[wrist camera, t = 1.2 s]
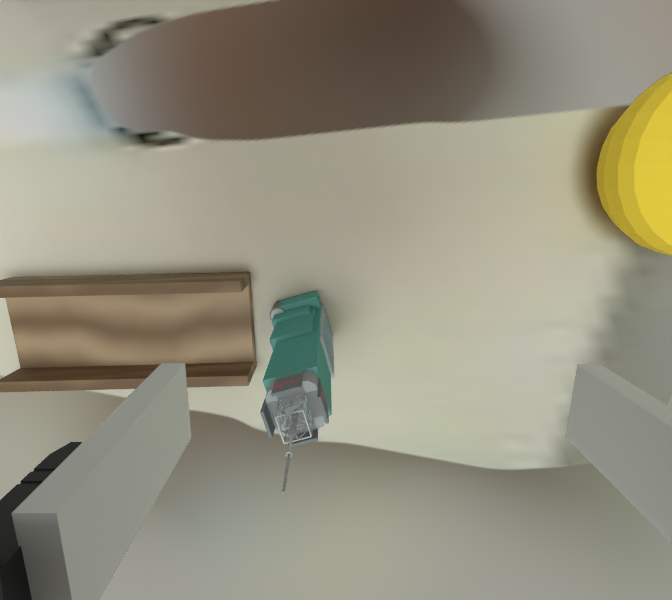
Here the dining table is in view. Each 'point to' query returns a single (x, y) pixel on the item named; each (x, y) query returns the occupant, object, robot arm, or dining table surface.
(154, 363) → the tray
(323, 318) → the building
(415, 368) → the dining table surface
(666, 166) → the vase
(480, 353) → the dining table surface
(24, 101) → the dining table surface
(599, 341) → the dining table surface
